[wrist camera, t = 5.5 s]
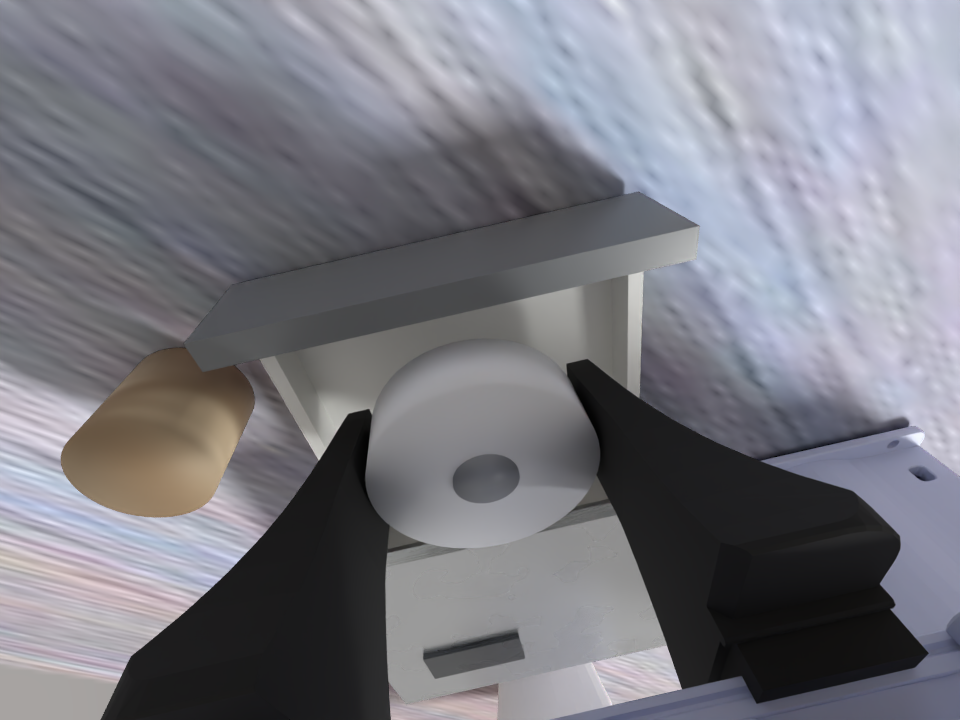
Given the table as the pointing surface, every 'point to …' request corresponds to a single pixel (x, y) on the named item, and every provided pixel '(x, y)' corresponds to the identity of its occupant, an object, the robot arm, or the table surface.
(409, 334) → the tray
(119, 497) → the tan rounded lump
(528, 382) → the disc
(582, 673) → the cup
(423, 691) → the player housing
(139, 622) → the table surface
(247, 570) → the robot arm
